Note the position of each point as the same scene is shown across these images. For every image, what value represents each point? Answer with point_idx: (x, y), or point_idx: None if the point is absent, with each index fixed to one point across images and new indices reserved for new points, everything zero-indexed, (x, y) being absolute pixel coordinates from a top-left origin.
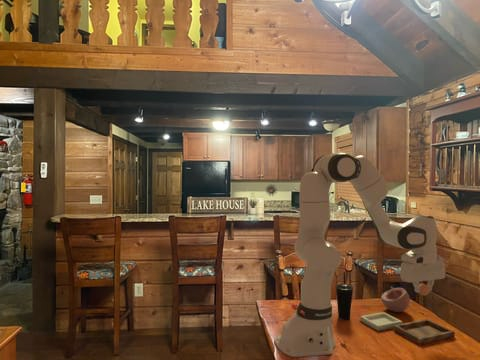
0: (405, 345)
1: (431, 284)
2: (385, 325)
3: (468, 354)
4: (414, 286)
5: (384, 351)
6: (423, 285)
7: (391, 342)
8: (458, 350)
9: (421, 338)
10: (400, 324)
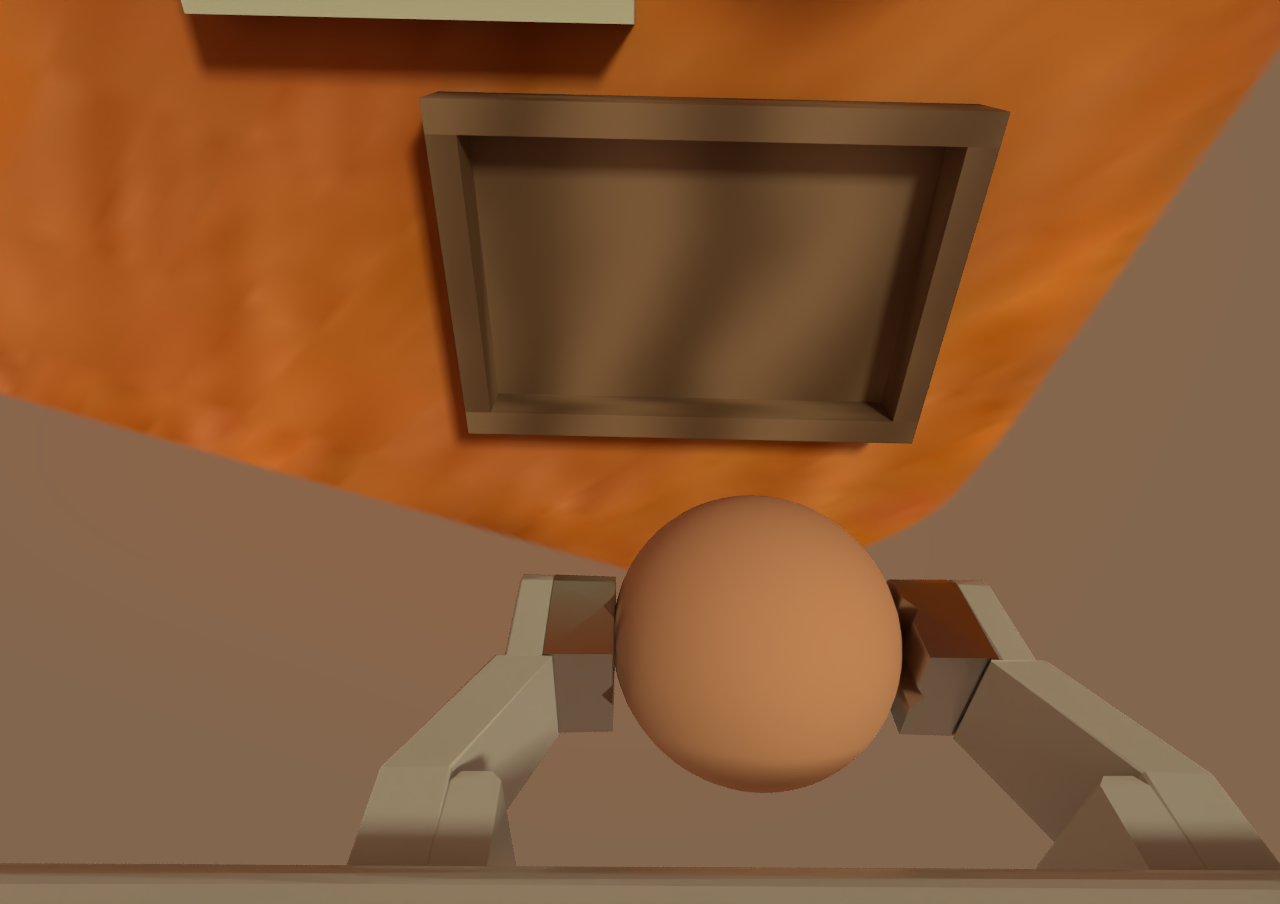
0: (353, 368)
1: (1011, 786)
2: (330, 15)
3: None
4: (483, 679)
5: (110, 377)
6: (709, 781)
7: (253, 287)
8: None
9: (494, 428)
10: (521, 110)
